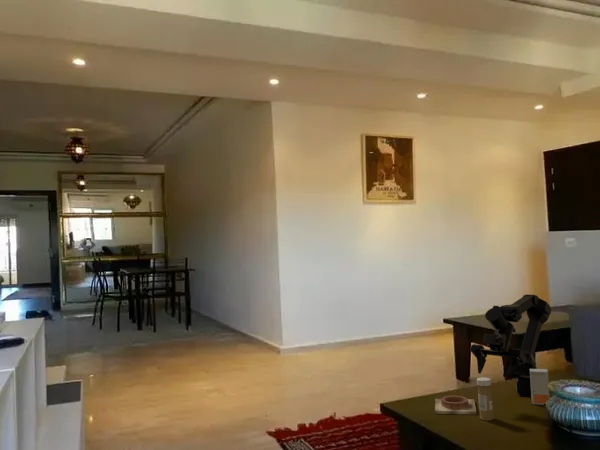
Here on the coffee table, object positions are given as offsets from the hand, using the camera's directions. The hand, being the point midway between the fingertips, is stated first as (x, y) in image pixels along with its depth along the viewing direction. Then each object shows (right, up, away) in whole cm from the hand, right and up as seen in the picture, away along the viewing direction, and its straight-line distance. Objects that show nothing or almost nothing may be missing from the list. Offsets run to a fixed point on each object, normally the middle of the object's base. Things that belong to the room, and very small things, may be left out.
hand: (491, 375), depth 184 cm
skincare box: (+20, -12, +6) cm, 24 cm away
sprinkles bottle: (-4, -13, -6) cm, 15 cm away
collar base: (-11, -14, +7) cm, 19 cm away
